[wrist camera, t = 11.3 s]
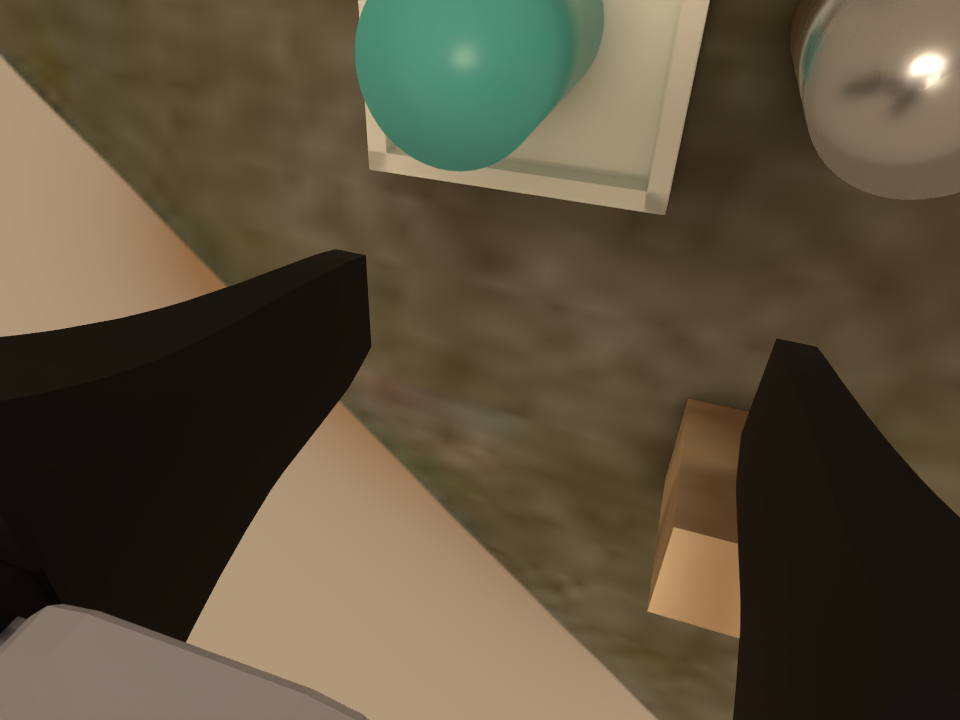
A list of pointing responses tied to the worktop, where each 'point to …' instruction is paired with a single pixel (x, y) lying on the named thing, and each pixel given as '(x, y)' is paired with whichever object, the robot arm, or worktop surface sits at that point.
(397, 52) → the cylinder
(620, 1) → the tray
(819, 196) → the worktop surface
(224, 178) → the worktop surface
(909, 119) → the cylinder
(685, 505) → the oak block
